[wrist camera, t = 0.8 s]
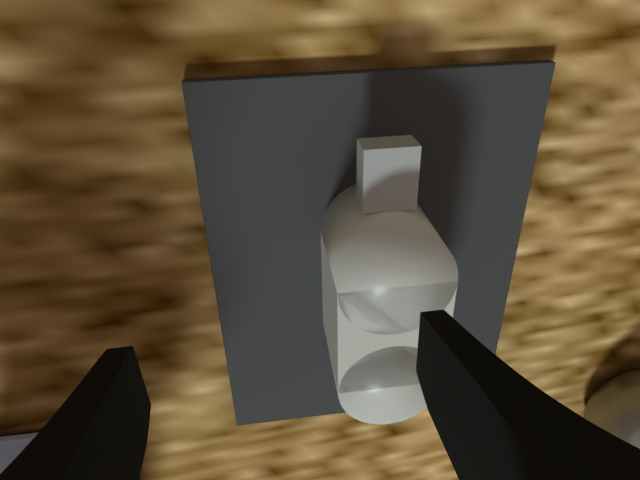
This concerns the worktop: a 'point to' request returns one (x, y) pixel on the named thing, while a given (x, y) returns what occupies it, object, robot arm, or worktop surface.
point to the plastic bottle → (617, 407)
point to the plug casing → (381, 281)
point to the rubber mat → (334, 177)
